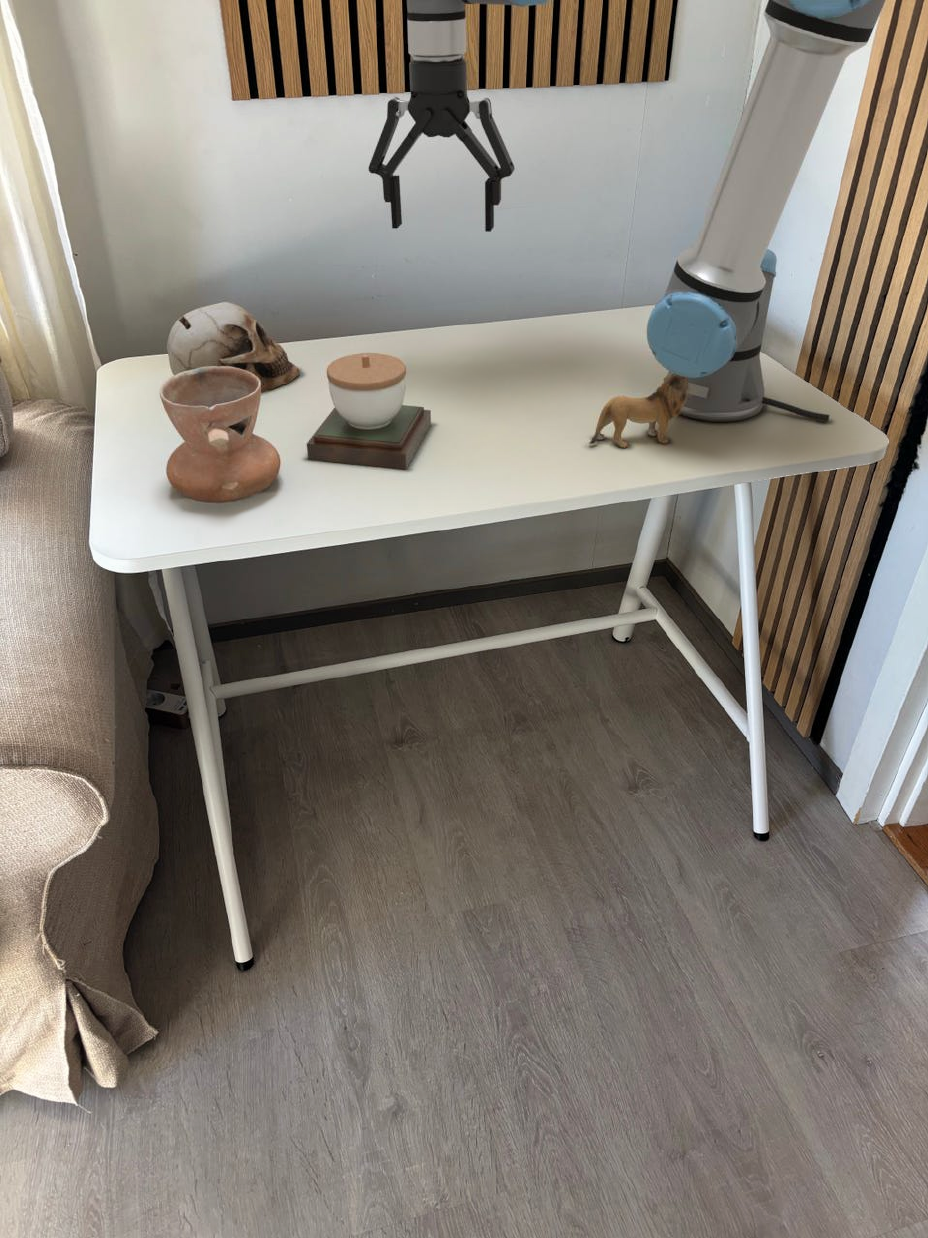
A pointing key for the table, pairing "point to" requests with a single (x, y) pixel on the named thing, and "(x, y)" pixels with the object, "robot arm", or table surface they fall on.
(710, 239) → the robot arm
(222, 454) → the orange-brown waisted vessel
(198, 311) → the coin bank
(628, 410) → the lion figurine
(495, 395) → the table surface
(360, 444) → the holder
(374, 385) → the lidded bowl
